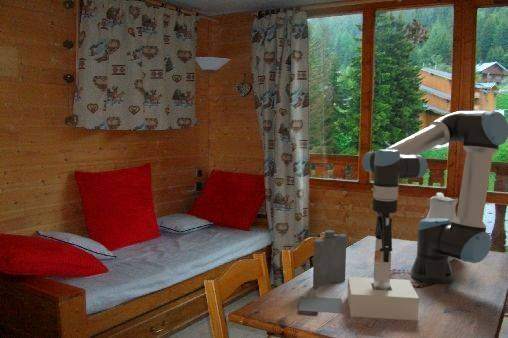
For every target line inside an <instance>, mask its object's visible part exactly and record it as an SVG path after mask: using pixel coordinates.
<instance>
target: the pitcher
mask: <svg viewBox="0 0 508 338" xmlns="http://www.w3.org/2000/svg"><path fill="white" fill-rule="evenodd" d="M457 203H459V198H454V199H453V198H452V197H447V196H445V194H444V193H443V192H436V194H435V195H433V196H432V197H430V199H429V205H430V206H429V210H428V213H427V216H426V218H425V219H427V218H447V219H450V220H451V221H452V220H453V219H455V218H456V217H457V212H456V207H457ZM454 259H455V258H453V257H450V256H449V262H451V261H453V260H454Z"/></svg>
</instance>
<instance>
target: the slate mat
mask: <svg viewBox="0 0 508 338" xmlns="http://www.w3.org/2000/svg"><path fill="white" fill-rule="evenodd" d="M298 303H299V304H298V314H302V315H317V316H318V315H319V313H329V314H330V313H333V314H335V313H336V314H345V313H344V312H345V311H344V306H343V305H344V304H343V299H342V297H341V298H338V297H337V298H336V297H335V298H334V297H320V296H303V295H302V296H301V295H300V296H299V302H298Z"/></svg>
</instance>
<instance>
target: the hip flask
mask: <svg viewBox="0 0 508 338" xmlns="http://www.w3.org/2000/svg"><path fill="white" fill-rule="evenodd" d="M346 260H347V235H346V233H345V234H344V233H341V234H336V233H335V230H331V229H325V230H324V236H322V237H319V238H316V239H314V240H313V267H312V268H313V269H312V270H313V271H312V274H313V275H312V276H313V277H312V288H314V289H315V290H318V288H319V287H322V286H324V285H326V284H327V285H328V284H329V285H331V284H337V283H342V282H345V281H346V266H347V265H346V263H347V261H346Z"/></svg>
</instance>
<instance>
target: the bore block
mask: <svg viewBox="0 0 508 338" xmlns="http://www.w3.org/2000/svg"><path fill="white" fill-rule="evenodd" d="M373 285H374V277H362V276H361V277H359V276H347V294H346V295H347V303H348V308H349V313H350V317H353V318H354V317H357V318H372V319H385V320H387V319H388V320H400V321H401V320H403V321H404V320H405V321H419V309H420V308H419V306H420V297H419V296H418V293H417V292H416V290H415V288H414V287H413V284H412V283H411V281H410V279H400V278H398V279H397V278H396V279H395V278H390V290H389V291H387V290H373Z"/></svg>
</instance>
